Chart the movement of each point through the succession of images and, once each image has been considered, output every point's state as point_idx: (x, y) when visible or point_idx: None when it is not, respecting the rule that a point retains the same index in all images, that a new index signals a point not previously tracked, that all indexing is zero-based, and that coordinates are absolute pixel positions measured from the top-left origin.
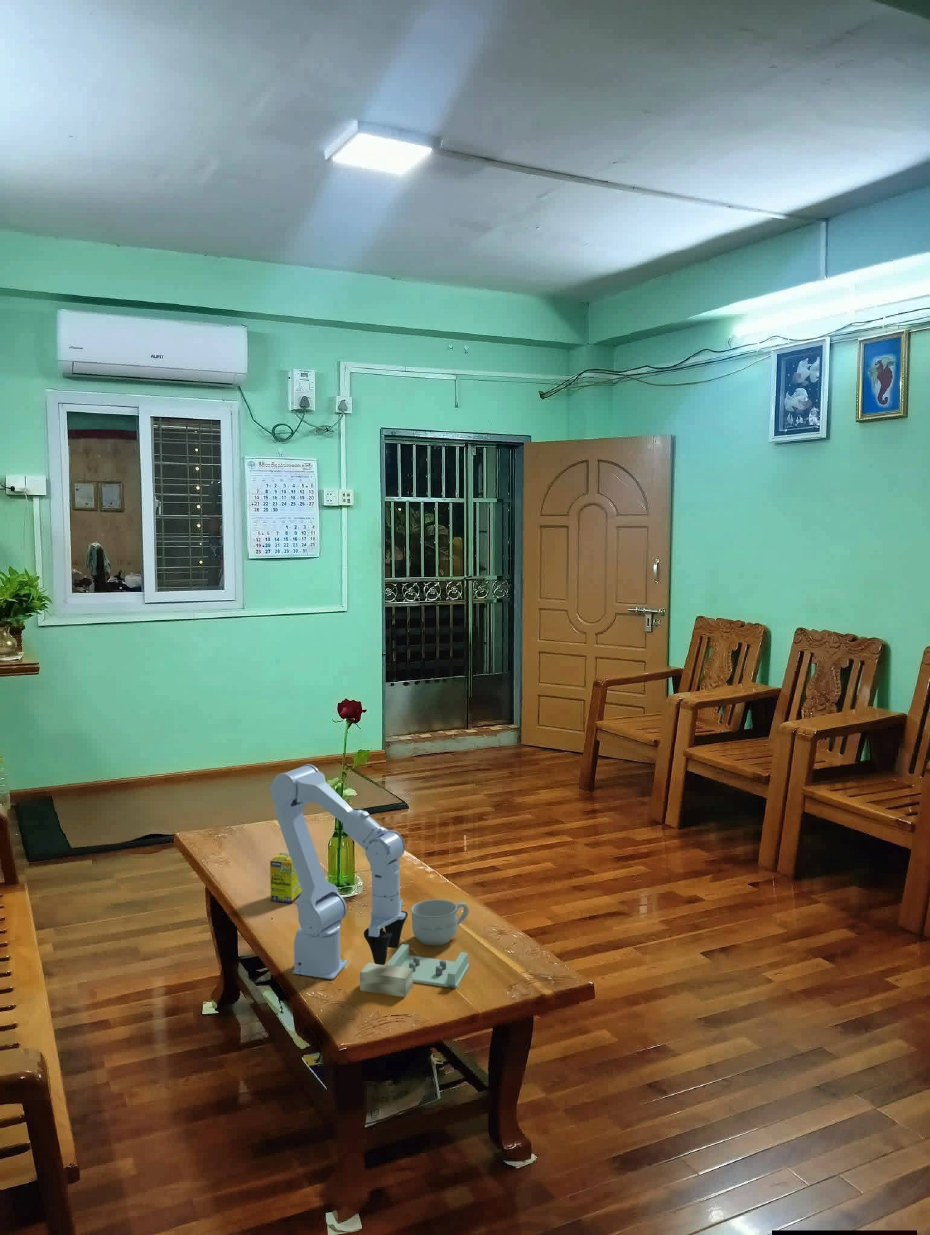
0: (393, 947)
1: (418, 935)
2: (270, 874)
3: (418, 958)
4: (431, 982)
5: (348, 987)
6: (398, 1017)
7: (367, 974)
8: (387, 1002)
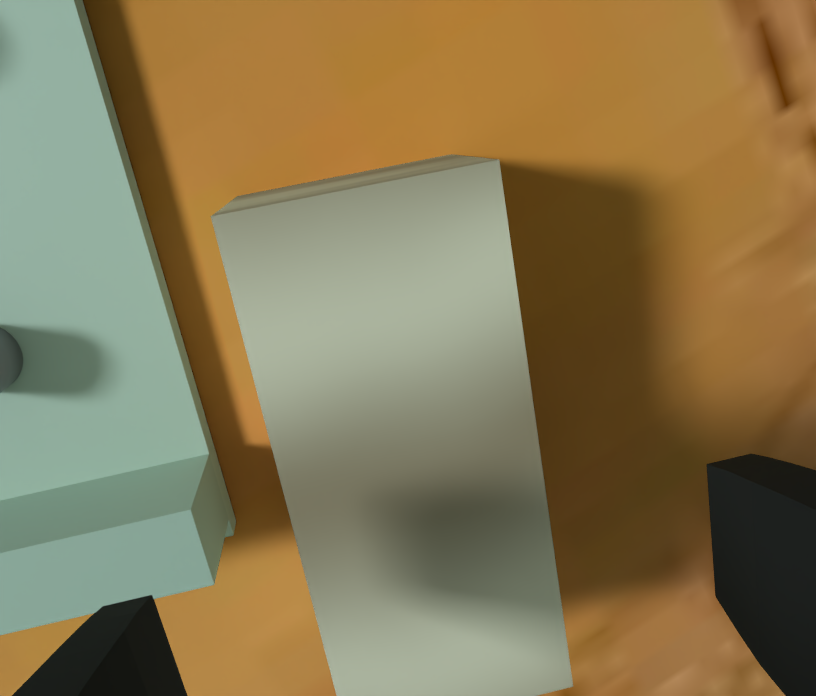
0: (168, 653)
1: None
2: None
3: None
4: (81, 24)
5: None
6: (804, 21)
7: (559, 603)
8: (604, 260)
